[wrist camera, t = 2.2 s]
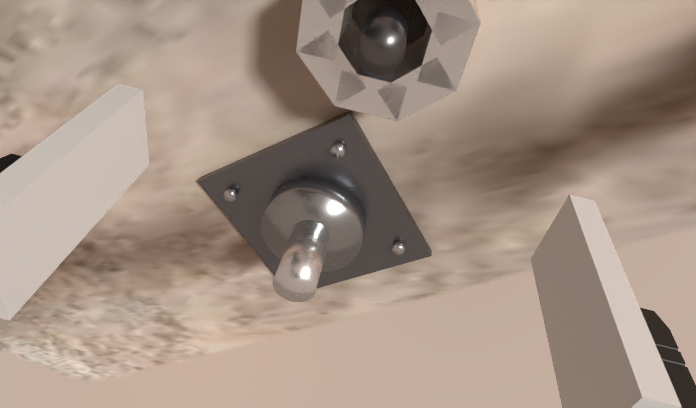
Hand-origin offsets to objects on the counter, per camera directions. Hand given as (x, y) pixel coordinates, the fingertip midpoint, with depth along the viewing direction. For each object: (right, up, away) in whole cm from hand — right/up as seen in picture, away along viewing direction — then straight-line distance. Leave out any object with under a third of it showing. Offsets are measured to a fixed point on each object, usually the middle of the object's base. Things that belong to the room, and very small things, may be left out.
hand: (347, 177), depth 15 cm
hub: (-3, -2, +25) cm, 25 cm away
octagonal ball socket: (+3, +11, +14) cm, 18 cm away
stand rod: (+3, +11, +14) cm, 18 cm away
